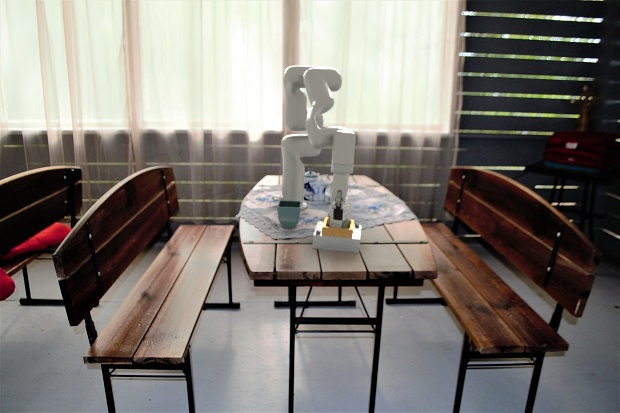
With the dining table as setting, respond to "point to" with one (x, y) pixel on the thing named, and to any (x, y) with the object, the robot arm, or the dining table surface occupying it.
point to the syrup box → (339, 223)
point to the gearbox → (337, 237)
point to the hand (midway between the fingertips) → (338, 215)
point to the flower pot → (288, 213)
